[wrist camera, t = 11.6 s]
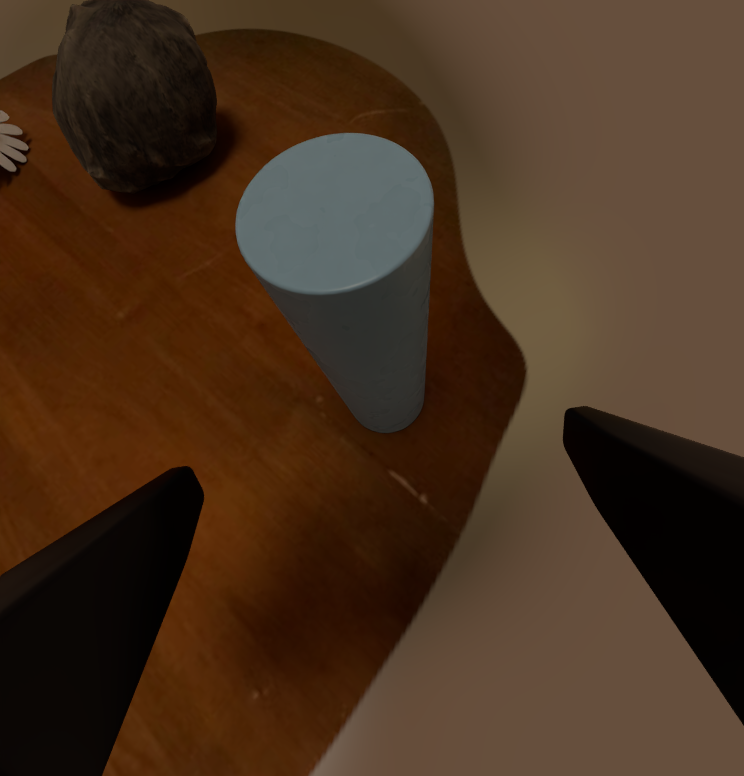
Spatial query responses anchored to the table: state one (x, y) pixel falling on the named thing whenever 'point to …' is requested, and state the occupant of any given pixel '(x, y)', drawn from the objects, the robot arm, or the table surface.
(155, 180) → the rock
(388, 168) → the canister
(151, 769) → the table surface
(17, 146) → the decorative flower
